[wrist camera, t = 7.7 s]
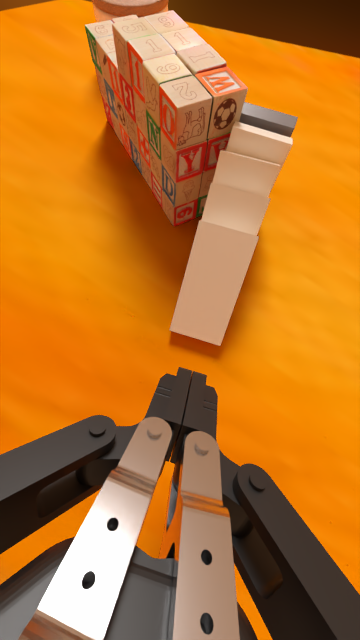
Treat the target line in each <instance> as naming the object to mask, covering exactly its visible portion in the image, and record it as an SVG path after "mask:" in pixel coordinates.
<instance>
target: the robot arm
mask: <svg viewBox="0 0 360 640" xmlns="http://www.w3.org/2000/svg"><path fill="white" fill-rule="evenodd" d="M191 374H192V376H191ZM206 377H207V375H204V374H201V373H198V372H195V371H193V373H192V371H191V370H188V369H184V368H181V367H179V369H178V372H177V376H174V375H170V374H165V375H164V376H163V377H162V378H160V381H159V383H158V386H157V388H156V391H155V393H154V396H153V398H152V401H151V403H150V406H149V409H148V411H147V414H146V416H145V418H144V419H143V420H142V421H141V422H140V423H138V424H136V425H133V426H116V425H115V423H114V421H113V420H112V419H110V418H109V417H107V416H103V415H95V416H91V417H89V418H86V419H84V420H82V421H79V422H77V423H75V424H72V425H70V426H67V427H65V428H63V429H60V430H58V431H56V432H53V433H51V434H49V435H46V436H44V437H41V438H39V439H37V440H34V441H32V442H30V443H27V444H25V445H23V446H20V447H18V448H15V449H13V450H11V451H8V452H6V453H4V454H1V455H0V554H1V553H3V552H4V551H6V550H7V549H9V548H10V547H12V546H14V545H15V544H17V543H18V542H20V541H21V540H23V539H24V538H26V537H27V536H29V535H30V534H32V533H33V532H35V531H37V530H38V529H40V528H41V527H43V526H44V525H46V524H47V523H49V522H50V521H52V520H53V519H55V518H56V517H58V516H60V515H61V514H63V513H64V512H66V511H67V510H69V509H70V508H72V507H73V506H75V505H76V504H78V503H79V502H81V501H83V500H84V499H86V498H87V497H89V496H90V495H92V494H93V493H95V492H96V491H98V490H99V489H101V490H100V492H99V494H98V496H97V498H96V500H95V502H94V503H93V505H92V507H91V509H90V511H89V513H88V515H87V517H86V518H85V520H84V522H83V524H82V526H81V528H80V530H79V532H78V533H77V535H76V537H73V538H70V539H66V540H64V541H62V542H60V543H57V544H55V545H54V546H52V547H50V548H49V549H47V550H46V551H44V552H43V553H42V554H40V555H39V556H38V557H36V558H35V559H34V560H32V561H31V562H30V563H28V564H27V565H26V566H24V567H23V568H22V569H20V570H19V571H18V572H17V573H15V574H14V575H13V576H11V577H10V578H9V579H7V580H6V581H5V582H3V583H2V584H1V585H0V640H258V639H257V637H256V634H255V632H254V630H253V628H252V626H251V624H250V622H249V620H248V618H247V616H246V615H245V613H244V611H243V609H242V608H241V607H240V605H239V604H238V602H237V598H236V586H235V573H234V563H235V565H236V567H237V569H238V571H239V573H240V575H241V577H242V579H243V581H244V583H245V585H246V587H247V589H248V591H249V593H250V595H251V597H252V599H253V601H254V603H255V605H256V607H257V609H258V611H259V613H260V615H261V617H262V619H263V621H264V623H265V625H266V627H267V629H268V631H269V633H270V635H271V637H272V639H273V640H360V595H359V593H358V592H357V591H356V590H355V588H354V587H353V586H352V584H351V583H350V582H349V580H348V579H347V578H346V576H345V575H344V574H343V572H342V571H341V570H340V568H339V567H338V566H337V564H336V563H335V562H334V561H333V559H332V558H331V557H330V555H329V554H328V553H327V551H326V550H325V549H324V547H323V546H322V545H321V543H320V542H319V541H318V539H317V538H316V537H315V535H314V534H313V533H312V532H311V530H310V529H309V528H308V526H307V525H306V524H305V522H304V521H303V520H302V518H301V517H300V516H299V514H298V513H297V512H296V510H295V509H294V508H293V506H292V505H291V504H290V503H289V501H288V500H287V499H286V497H285V496H284V495H283V493H282V492H281V491H280V489H279V488H278V487H277V485H276V484H275V483H274V481H273V480H272V479H271V477H270V476H269V475H268V474H267V473H266V472H265V471H264V470H263V469H262V468H260V467H259V466H256V465H254V464H244V465H242V466H241V467H240V466H238V465H237V464H235V463H234V462H232V461H231V460H229V459H228V458H227V457H226V456H224V455H223V453H222V452H221V451H220V449H219V447H218V444H217V442H216V425H217V399H218V396H217V393H216V391H215V389H214V388H213V387H210V386H207V385H206ZM172 450H173V451H172ZM171 453H172V456H171ZM170 456H171V460H170V462H171V463H174V464H175V467H174V472H173V476H172V478H171V482H170V488H169V496H168V503H167V511H166V519H165V526H164V534H163V539H162V544H161V548H160V553H159V558H158V559H155V558H152V557H150V556H149V555H147V554H146V553H145V552H143V551H142V550H141V549H140V548H138V547H137V546H136V544H137V541H138V538H139V535H140V532H141V529H142V526H143V523H144V520H145V517H146V514H147V511H148V508H149V505H150V502H151V499H152V496H153V493H154V490H155V487H156V484H157V481H158V478H159V477H160V475H161V473H162V470H163V467H164V464H165V461H168V462H169V459H170Z"/></svg>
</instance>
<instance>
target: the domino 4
mask: <svg viewBox="0 0 360 640" xmlns="http://www.w3.org/2000/svg"><path fill="white" fill-rule="evenodd" d="M269 202H270V198H266V197H263V196H259V195H255V194H251V193H248V192H244V191H240V190H236V189H233V188H229V187H225V186H221V185H218V184H214V183H211V185H210V189H209V192H208V196H207V200H206V204H205V208H204V212H203V215H202V219H201V221H205V222H208V223H212V224H215V225H219V226H223V227H226V228H230V229H233V230H237V231H241V232H244V233H248V234H252V235H255V236H257V234H258V231H259V228H260V226H261V223H262V220H263V218H264V215H265V212H266V210H267V207H268V204H269Z"/></svg>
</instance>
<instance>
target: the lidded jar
mask: <svg viewBox="0 0 360 640" xmlns="http://www.w3.org/2000/svg"><path fill="white" fill-rule="evenodd" d="M91 1H92V3H93V8H94V13H95V18H96V22H102V21H107V20H111V19H114V18H119V17H125V16H130V15H137V16H138V18H141V17H145V16H149V15H154V14H159V13H163V12H167V11H168V1H169V0H91Z"/></svg>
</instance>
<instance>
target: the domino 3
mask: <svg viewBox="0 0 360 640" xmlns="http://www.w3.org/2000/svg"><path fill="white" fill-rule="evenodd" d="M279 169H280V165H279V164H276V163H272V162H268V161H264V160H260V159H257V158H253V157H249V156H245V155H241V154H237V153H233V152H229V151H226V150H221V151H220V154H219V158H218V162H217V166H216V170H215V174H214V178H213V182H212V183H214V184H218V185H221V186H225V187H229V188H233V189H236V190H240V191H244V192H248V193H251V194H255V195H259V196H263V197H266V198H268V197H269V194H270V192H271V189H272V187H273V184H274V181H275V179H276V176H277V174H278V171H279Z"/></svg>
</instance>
